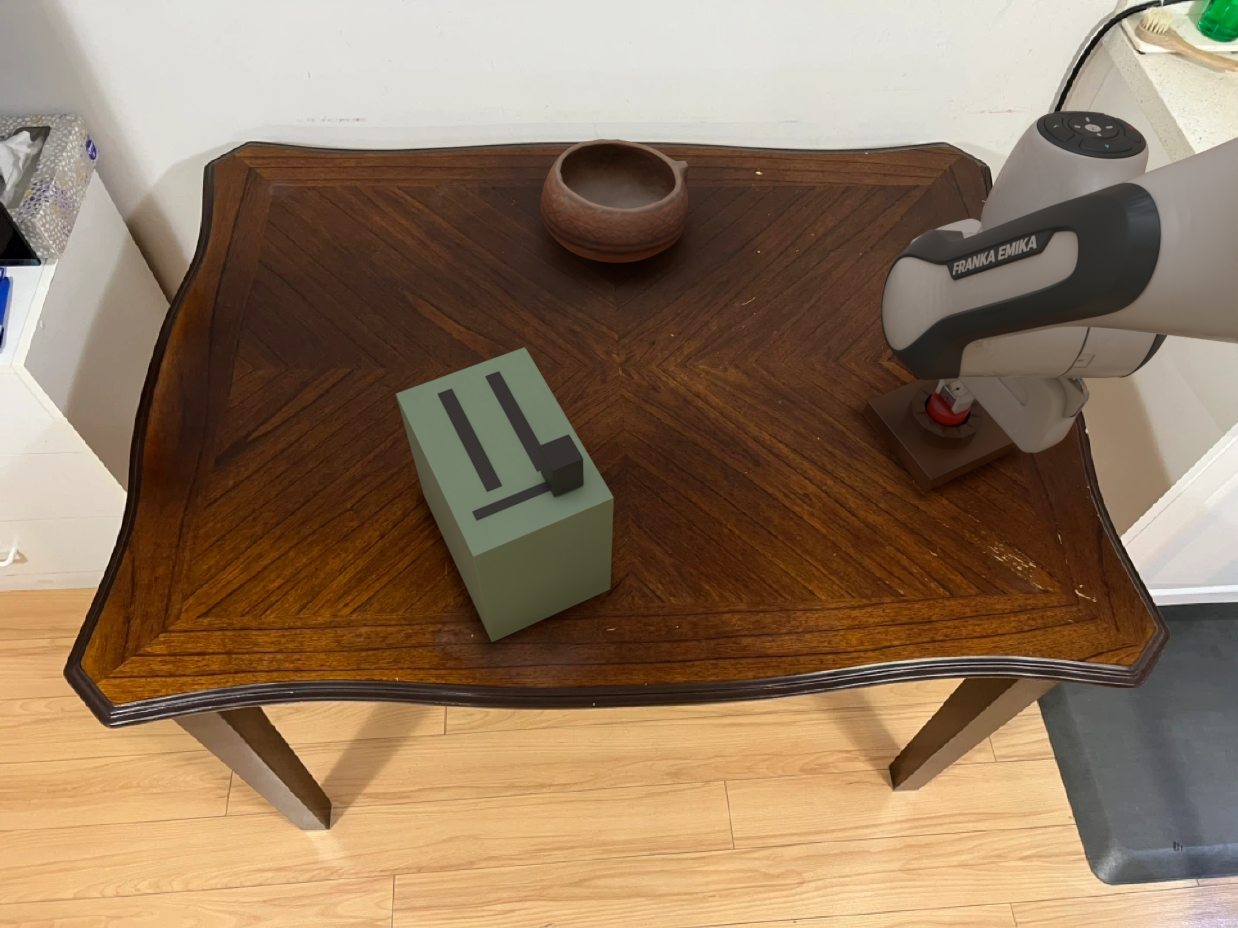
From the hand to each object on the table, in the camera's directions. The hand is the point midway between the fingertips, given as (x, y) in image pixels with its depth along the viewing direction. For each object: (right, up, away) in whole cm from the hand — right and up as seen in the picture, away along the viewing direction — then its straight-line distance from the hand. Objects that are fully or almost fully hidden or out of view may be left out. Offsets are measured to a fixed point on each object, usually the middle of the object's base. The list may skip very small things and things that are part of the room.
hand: (951, 400), depth 87 cm
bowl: (-31, +19, +18) cm, 41 cm away
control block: (0, -3, +4) cm, 5 cm away
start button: (0, -1, +1) cm, 2 cm away
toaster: (-40, -13, -3) cm, 42 cm away
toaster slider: (-35, -7, -18) cm, 40 cm away
